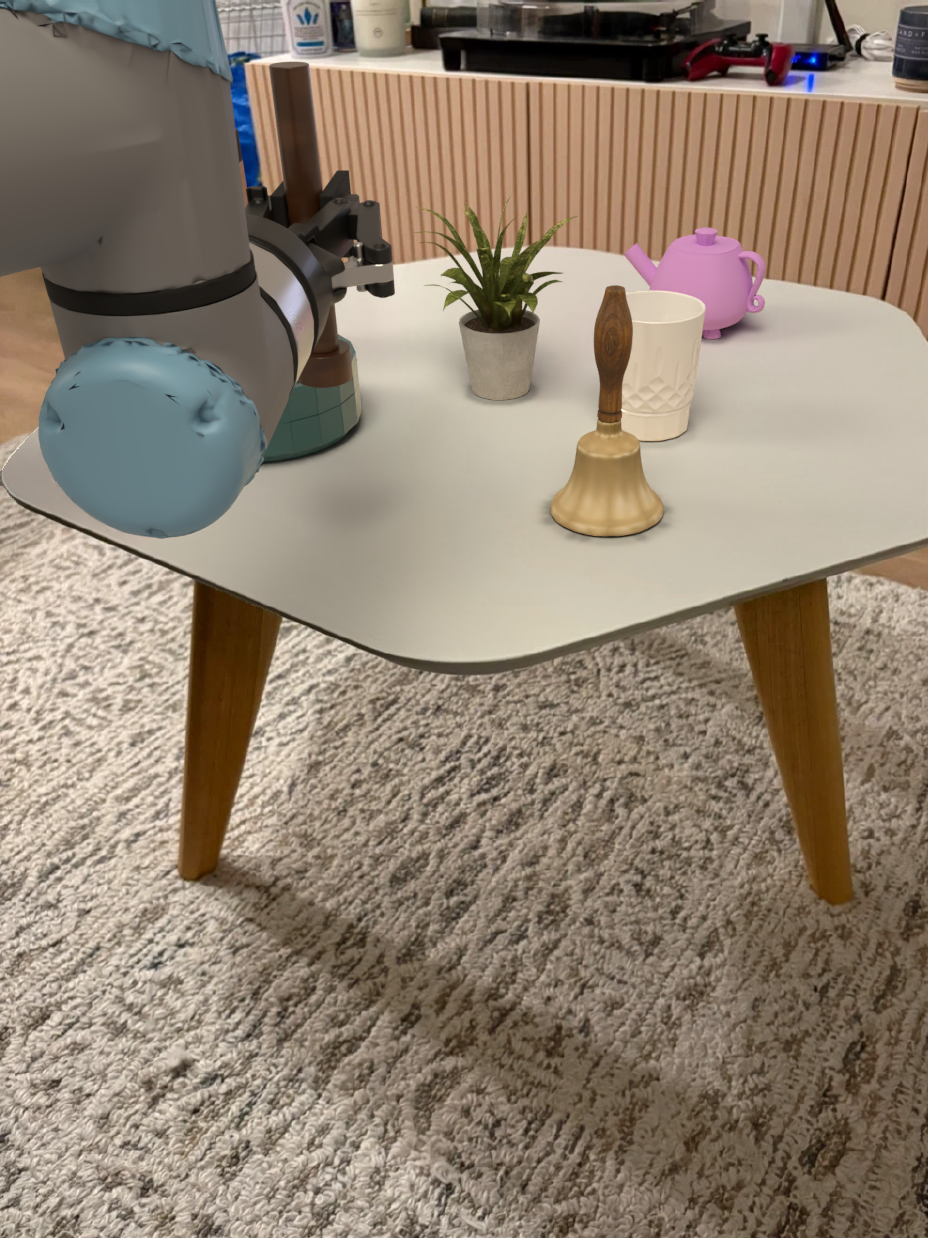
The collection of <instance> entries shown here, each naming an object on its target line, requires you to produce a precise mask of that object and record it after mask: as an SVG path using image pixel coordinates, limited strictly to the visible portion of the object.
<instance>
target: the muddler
mask: <svg viewBox="0 0 928 1238" xmlns="http://www.w3.org/2000/svg"><path fill="white" fill-rule="evenodd" d="M268 69H269V77H270V86H271V93H272V94H271V95H272V101H273V109H274V117H275V125H276V133H277V141H278V149H279V156H280V164H281V173H282V181H283V182H284V190H285V198H286V205H287V213H288V221H289V227H290V226H291V225H292V224H293V223H307V222H308V221H309V220H310V219H311V218H312V217H313V216H314V215H315V214H316V213H317V212H319V211H320V210H321V209H320V200H319V196H320V194H321V193H322V192H323V190H324V189H323V182H322V172H321V163H320V162H321V161H320V155H319V144H318V136H317V135H318V134H317V126H316V125H317V124H316V117H315V116H316V115H315V108H314V98H313V89H312V88H313V87H312V79H311V70H310V63H308V62H305V61H279V62H273V63H271V64H269V65H268ZM337 323H338V322H337V313H336V303H335V304H333V305H331V306H330V310H329V314H328V318H327V321H326V324H325V327H324V330H323V332H322V334H321V336H320V338H319V340H318V342H317V344H316V346H315V348H314V350H313V352H312V354H311V356H310V358H309V360H308V361H307V363H306V364H305V366H304V368H303V370H302V372H301V374H300V376H299V379H298V381H299V383H300V384H302V385H304V386H307V387H312V388H330V387H336V386H340V385H343V384H345V383H347V382H349V381H350V380H351V379H352V377H353V370H352V360H351V350H350V345H349V344H348V343H347V342H345V341H342V340H338V334H339V333H338V324H337Z"/></svg>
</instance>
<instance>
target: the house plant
mask: <svg viewBox="0 0 928 1238" xmlns="http://www.w3.org/2000/svg"><path fill="white" fill-rule="evenodd" d="M512 196H513V194H511V196H509V197H508V199H507V201H506V202H505V204H504V206H503V209H502V212H501V215H500V219H499V225H498V231H497V237H496V244H495V247H494V251H493V250H492V247H491V243H490V241H489V239H488V236H487V234H486V233H485V231H484V230H483V228H482V227H481V225H480V221H479V218H478V216H477V214H476V212H475V211H474V210H473V209H472V208H471V207H470V206H469V205H468V204H466V203H464V206H465V208H466V209H467V210H466V209H464V207H461V209H462V211H463V213H464V214H465V215H466V216H467V221H468V222H469V224H470V225H471V228H472V233H473V236H474V238H475V242H476V245H477V248H476V254H477V258H478V261H479V264H480V269H481V271H480V269H479V268H478V266H477V264H476V262H475V260H474V258H473V257H472V255H471V253H470V252H469V250H468V248H467V247H466V245H465V243H464V242H463V240H462V238H461V236H460V235H459V233H458V231H457V230H456V228H455V227H454V226H453V224H452V223H451V222H450V221H449V220H448V219H447V218H446V217H445V216H443V215H441V214H440V213H439V212H436V211H433V210H430V209H428V208H424V207H418V206H415V208H417V209H420V210H424V211H426V212H429V213H431V214H433V215H435V216H436V217H437V218H438V219H440V220H441V221H442V222H443V223H444V225H446V227H447V228H448V230H449V231H450V233H451V234H452V236H453V238H452V237H450V236H449V235H447V234H444V233H441V232H437V231H426V230H425V231H415V232H412V233H414V234H418V233H419V234H420V233H422V234H423V233H427V234H436V235H439V236H441V237H443V238H444V239H446V240H447V241H449V242H450V243H451V244H452V245H453V246H454V247H455V248H456V249H457V251H458V252H459V253H460V254H461V255H462V256H463V258H464V259H465V261H466V262H467V264H468V265H469V267H470V269H471V270H472V272H473V274H474V275H475V276H476V278H477V281H478V283H479V284H480V285H478V284H477V283H475V282H474V280H473V279H472V278H471V276H470V275H469V274H468V273H467V272H466V271H465V270H464V268H463V267H462V265H461V264H460V262H459V261H458V260H457V258H456V257H455V256H454V255H453V253H451V251H450V250H448V249H447V248H446V247H444V246H443V245H442V244H439V243H436V242H433V241H422V242H420V244H433V245H435V246H438V247H439V248H440V249H441V250H443V251H444V252H445V253H446V254H447V255H448V256H449V257H450V258H451V260H452V261H453V262H454V263H455V264H456V266H457V267H450V268H448V269H446V270H445V271H443V273H441V274H440V277H441V278H442V277H446V278H448V279H452V280H454V281H451V282H449V283H448V285H449V284H457V285H461V286H462V287H463V288H464V289H456V290H451V289H449V288H447V287H444V286H442V285H441V284H433V283H432V284H424V285H423V287H430V286H431V287H432V286H433V287H441V288H443V289H446V290H447V291H449V293H448V294H447V295H446V296H445V300H444V303H443V309H442V312H444V311H445V309H446V307H448V306H450V305H451V304H453V303H456V301H458V300H460V301H461V302H462V303H463V304H464V305H465V306H466V307H467V308H468V309H470V311H468V312H466V313H465V314H463V315H462V316H461V317H460V318H459V320H458V327H459V331H460V336H461V342H462V347H463V351H464V356H465V361H466V366H467V371H468V375H469V380H470V385H471V390H472V393H473V394H474V395H475V396H477V397H479V398H481V399H486V400H491V401H507V400H508V401H509V400H513V399H519V398H520V397H523V396H525V395H527V394H528V393H529V391H530V387H531V381H532V376H533V375H532V374H533V368H534V362H535V356H536V350H537V343H538V336H539V329H540V323H541V319H540V317H539V316H538V314H536V313H535V310H536V308H537V305H539V304H538V300H539V299H538V293H539V292H541V291H542V290H543V289H545V288H546V287H548V286H550V285H553V284H557V283H563V281H562V280H558V279H551V280H547V281H545V282H543V283H542V284H541V285H539V286H538V287H536V289H535V290H534V291H533V292H530V291H531V289H532V287H533V285H534V284H535V281H536V280H538V279H541V278H545V277H548V276H552V275H563V272H561V271H537V272H533V273H527V271H528V269H529V267H530V265H531V264H532V262H533V261H534V259H535V258H536V256H537V255H538V254H539V253H540V252H541V250H543V248H544V247H545V246H546V244H548V243H549V241H550V240H551V239H552V238H553V236H554V235H555V233H557V231H558V230H559V229H560V228H562V226H564V225H565V224H567V223H568V222H570V221H572V220H573V219H575V218H577V217H578V215H577V216H576V215H575V216H571V217H568V218H565V219H563V220H561V221H559V222H558V223H556V224H554V226H552V227H551V228H549V230H548V231H547V232H545V234H543V236H542V237H541V238H540V239H539V240H536V241H534V242H533V243H531V244H530V245H529V246H527V247H526V248H525V249H523V251H522V248H523V246H524V242H525V239H526V233H527V226H528V212H527V211H526V212H525V215H524V216H523V219H522V222H521V226H520V227H519V230H518V232H517V235H516V240H515V243H514V247H513V249H512V250H513V251H512V253H511V256H505V257H504V258H502V249H503V248H502V247H503V244H504V243H503V242H504V238H505V234H506V232H507V231H506V230H507V229H508V227H509V226H510V225H511V223H512V222H514V220H515V219H517V217H518V216H519V215H520V213H521V212H520V213H519V214H517V215H516V216H515V217H514V218H513V219H512V220H511V221H509V223H507V224H506V226H504V228H503V229H502V231H501V226H502V225H501V224H502V219H503V214H504V212H505V209H506V207H507V204H508V202H510V201H509V200H510V199H511V197H512ZM500 231H501V232H500ZM521 251H522V252H521ZM501 258H502V259H501ZM481 273H482V274H481ZM468 294H469V296H470V297H471V299H472V301H473V303H474V304H475V306H476V308H477V309H474V308H472V306H471V305H470V304H468V303H467V302H466V301H465V300H464V299H463V298H462V297H464V296H466V295H468ZM523 302H524V305H523ZM527 308H529V309H530V310H527Z"/></svg>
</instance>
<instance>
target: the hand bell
mask: <svg viewBox="0 0 928 1238" xmlns="http://www.w3.org/2000/svg"><path fill="white" fill-rule="evenodd" d="M626 293H627V292H626V287H624V286H622V285H618V284H616V285H613V284H612V285H607V286H606V287H605V289H604V294H603V298H602V301H601V304H600V305H599V309H598V311H597V315H596V318H595V322H594V328H593V353H594V361H595V365H596V369H597V374H598V377H599V379H598V380H599V393H598V403H597V407H598V408H597V414H596V416H597V420H596V429H595V430H593V431H589V432H587V433H585V434H583V435H582V436H581V437H580V438H579V439H578V441H577V444H576V451H575V458H574V464H573V467H572V471H571V474H570V476H569V478H568V480H567V482H566V483H565V485H564V487H562V488H561V489H560V490H558V491H557V492H556V494H555V495H554V496H553V498H552V500H551V502H550V506H549V511H550V514H551V517H552V518H553V519H554V520H555V522H556V523H558V524H559V525H560V526H562V527H564V528H566V529H568V530H570V531H573V532H575V533H579V534H583V535H587V536H592V537H593V536H594V537H621V536H623V537H624V536H628V535H633V534H638V533H641V532H643V531H646V530H648V529H650V528H652V527H653V526H655V525H656V524H658V523H659V522H660V520H661V519H662V518H663V516H664V513H665V505H664V503H663V501H662V499H661V498H660V496H659V495H658V493H657V492H656V491H655V490H654V489H652V488H651V486H650V485H649V483H648V481H647V478H646V476H645V473H644V469H643V462H642V452H641V442H640V440H638V439H637V438H636V437H635V436H634V435H632V434H630V433H628V432H625V431H623V430H622V428H621V418H622V410H621V409H622V383H623V378H624V374H625V371H626V368H627V366H628V362H629V359H630V354H631V349H632V339H633V325H632V318H631V314H630V310H629V306H628V303H627V299H626Z"/></svg>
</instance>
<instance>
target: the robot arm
mask: <svg viewBox="0 0 928 1238" xmlns="http://www.w3.org/2000/svg"><path fill="white" fill-rule="evenodd" d="M223 33H224V32H223V29H222V24H221V19H220V14H219V9H218V4H217V0H0V278H2V277H6V276H8V275H14V274H17V273H20V272H24V271H29V270H33V269H38V268H40V270H41V276H42V279H43V282H44V283H43V284H44V287H45V290H46V294H47V297H48V300H49V304H50V308H51V311H52V312H51V313H52V315H53V319H54V322H55V323H54V324H55V327H56V330H57V334H58V338H59V342H60V346H61V349H62V354H63V357H64V360H63V361H60V363H59V366H58V367H57V368H55V369H54V370H55V376H54V377H53V379H52V380H51V381H50V385H49V386H48V388H47V390H46V391H45V394H44V398H43V400H42V403H41V406H40V410H39V416H38V429H37V433H38V441H39V447H40V451H41V455H42V458H43V460H44V463H45V464H46V466H47V469H48V471H49V472H50V475H51V476H52V478H53V480H54V481H55V483H56V484H57V485H58V486H59V488H60V489H61V490H62V492H63V493H64V494H65V495H66V496H67V497H68V498H69V500H71V502H72V503H74V504H75V505H76V506H77V507H78V508H79V509H81V510H82V511H83V512H84V513H85V514H87V515H88V516H90V517H91V518H93V519H95V520H96V521H98V522H100V523H102V524H104V525H106V527H107V526H108V527H110V528H112V529H114V530H117V531H119V532H122V533H125V534H127V535H128V534H129V535H133V536H139V537H145V538H146V537H147V538H155V539H160V540H164V539H171V538H179V537H183V536H188V535H192V534H194V533H197V532H199V531H202V530H204V529H205V528H208V527H210V526H211V525H213V524H215V522H217V521H218V520H220V518H221V517H223V516H224V515H225V514H226V513H227V512H228V511H229V510H230V508H232V506H233V505H234V503H235V502H236V500H237V499H238V497H239V496H240V494H241V492H242V491H243V490H244V488H245V487H246V486H248V485H249V484H250V483H251V482H252V480H254V479H255V478H256V474H257V473H259V472H260V469H261V466H262V464H263V463H264V462H263V461H264V454H265V451H266V449H267V447H268V445H269V442H270V440H271V438H272V436H273V434H274V431H275V429H276V427H277V425H278V423H279V420H280V418H281V416H282V414H283V411H284V409H285V407H286V405H287V403H288V399H289V397H290V395H291V393H292V391H293V389H294V387H295V385H296V383H297V381H298V379H299V376H300V374H301V372H302V370H303V368H304V366H305V364H306V363H307V361H308V360H309V358H310V356H311V354H312V352H313V350H314V348H315V346H316V344H317V342H318V340H319V338H320V336H321V334H322V332H323V330H324V327H325V324H326V321H327V318H328V314H329V310H330V306H331V305H333V304H335V305H336V304H337V303H339V302H341V301H342V300H344V298H345V297H346V296H347V292H348V288H352V287H356V291H357V292H359V293H365V292H368V293H369V294H370V295H372V296H373V297H376V298H379V299H386V298H389V297H392V296H394V295H396V288H395V275H394V262H393V247H392V244H390V242H388V241H387V240H385V239H384V238H383V231H382V228H383V227H382V217H381V205H380V202H378V201H376V200H372V199H366V200H364V201H360V195H359V194H357V193H352V188H351V178H350V170H349V169H348V170H346V169H345V170H344V169H343V170H341V169H340V170H339V169H337V170H336V171H335V173H334V174H333V175H332V177H331V178H330V180H329V181H328V183H327V184H326V185H325V186H324V189H322V190H323V192H322V193H321V194H320V196H319V200H320V209H321V210H320V211H319V212H317V213H316V214H315V215H314V216H313V217H312V218H311V219H310V220H309V221H308V222H307V223H293V224H292V225H291V226H290V227H289V221H288V213H287V205H286V198H285V190H284V182H283V180H282V181H281V182H280V183H279V185H278V186H277V187H276V188H275V190H273V192H272V193H271V194H270V195H269V193H268V187H267V186H265V185H251V186H248V187H247V188H246V193H247V200H248V203H247V206H246V208H245V205H244V197H243V189H242V181H241V173H240V165H239V156H238V147H237V139H236V123H235V113H234V104H233V98H232V97H233V96H232V89H231V85H233V81H234V77H233V73H232V70H231V66H230V62H229V56H228V52H227V48H226V47H227V46H226V42H225V38H224V34H223ZM355 241H356V242H355ZM343 258H346V259H347V261H346V262H344V261H343V260H342V259H343Z"/></svg>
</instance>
